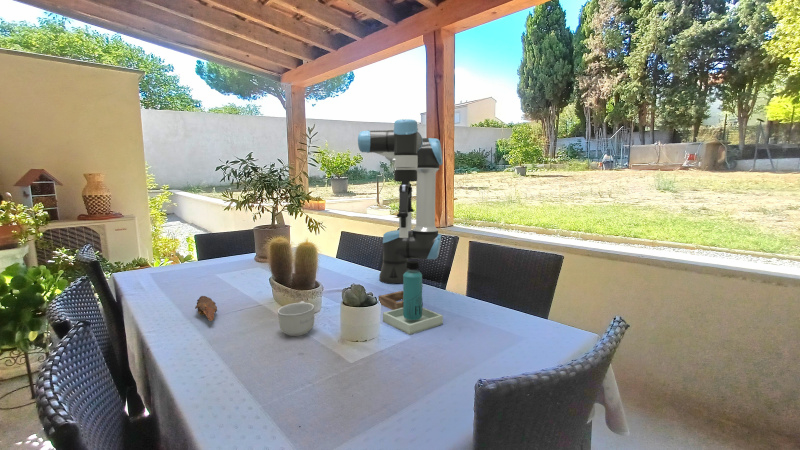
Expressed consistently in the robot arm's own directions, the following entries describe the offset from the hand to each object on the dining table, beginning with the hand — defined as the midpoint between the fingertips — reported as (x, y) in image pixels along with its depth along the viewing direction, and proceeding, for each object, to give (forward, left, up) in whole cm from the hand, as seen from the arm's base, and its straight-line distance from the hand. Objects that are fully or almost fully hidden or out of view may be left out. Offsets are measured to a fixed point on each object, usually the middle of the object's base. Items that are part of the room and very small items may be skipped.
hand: (405, 234), depth 127 cm
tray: (+1, +5, -29) cm, 29 cm away
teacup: (+33, -12, -29) cm, 46 cm away
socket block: (-7, -12, -29) cm, 32 cm away
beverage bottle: (+1, +4, -29) cm, 29 cm away
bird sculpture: (+53, -43, -29) cm, 74 cm away
